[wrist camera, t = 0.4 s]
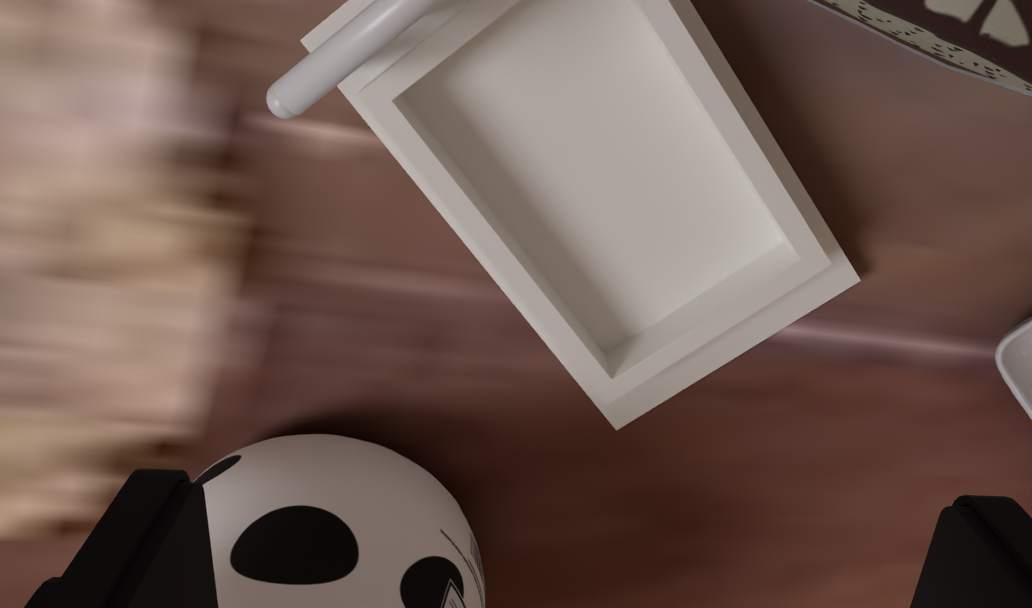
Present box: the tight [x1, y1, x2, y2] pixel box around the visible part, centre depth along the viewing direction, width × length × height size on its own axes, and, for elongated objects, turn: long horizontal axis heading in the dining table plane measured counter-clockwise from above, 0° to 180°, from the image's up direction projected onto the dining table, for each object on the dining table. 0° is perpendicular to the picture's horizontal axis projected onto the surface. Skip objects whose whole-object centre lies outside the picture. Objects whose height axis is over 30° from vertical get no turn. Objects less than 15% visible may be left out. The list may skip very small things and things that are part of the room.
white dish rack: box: [266, 0, 861, 431], centre depth 33 cm, size 14×24×12 cm, turn 36°
